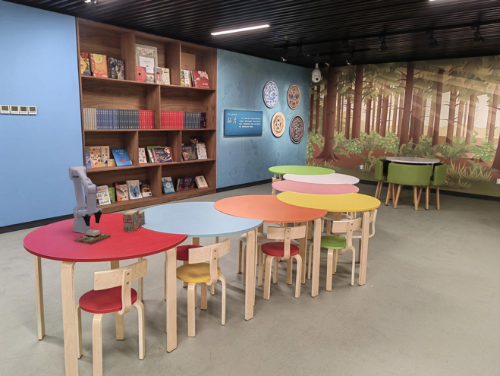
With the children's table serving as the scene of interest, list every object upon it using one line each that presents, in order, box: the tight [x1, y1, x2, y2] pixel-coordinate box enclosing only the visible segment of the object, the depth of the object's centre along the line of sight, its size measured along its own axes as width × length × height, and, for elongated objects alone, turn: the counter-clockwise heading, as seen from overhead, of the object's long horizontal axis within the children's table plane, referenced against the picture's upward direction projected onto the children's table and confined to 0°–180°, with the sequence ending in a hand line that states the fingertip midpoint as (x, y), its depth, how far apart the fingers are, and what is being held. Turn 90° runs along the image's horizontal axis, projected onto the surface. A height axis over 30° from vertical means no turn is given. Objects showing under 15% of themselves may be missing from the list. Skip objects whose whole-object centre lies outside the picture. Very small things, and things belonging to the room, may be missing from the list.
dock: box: [74, 232, 111, 245], centre depth 241 cm, size 14×16×2 cm
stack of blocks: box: [122, 209, 146, 233], centre depth 268 cm, size 21×6×12 cm, turn 172°
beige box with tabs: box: [85, 228, 101, 238], centre depth 241 cm, size 8×4×4 cm, turn 67°
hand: (92, 224), depth 242 cm, fingers open, 7 cm apart
